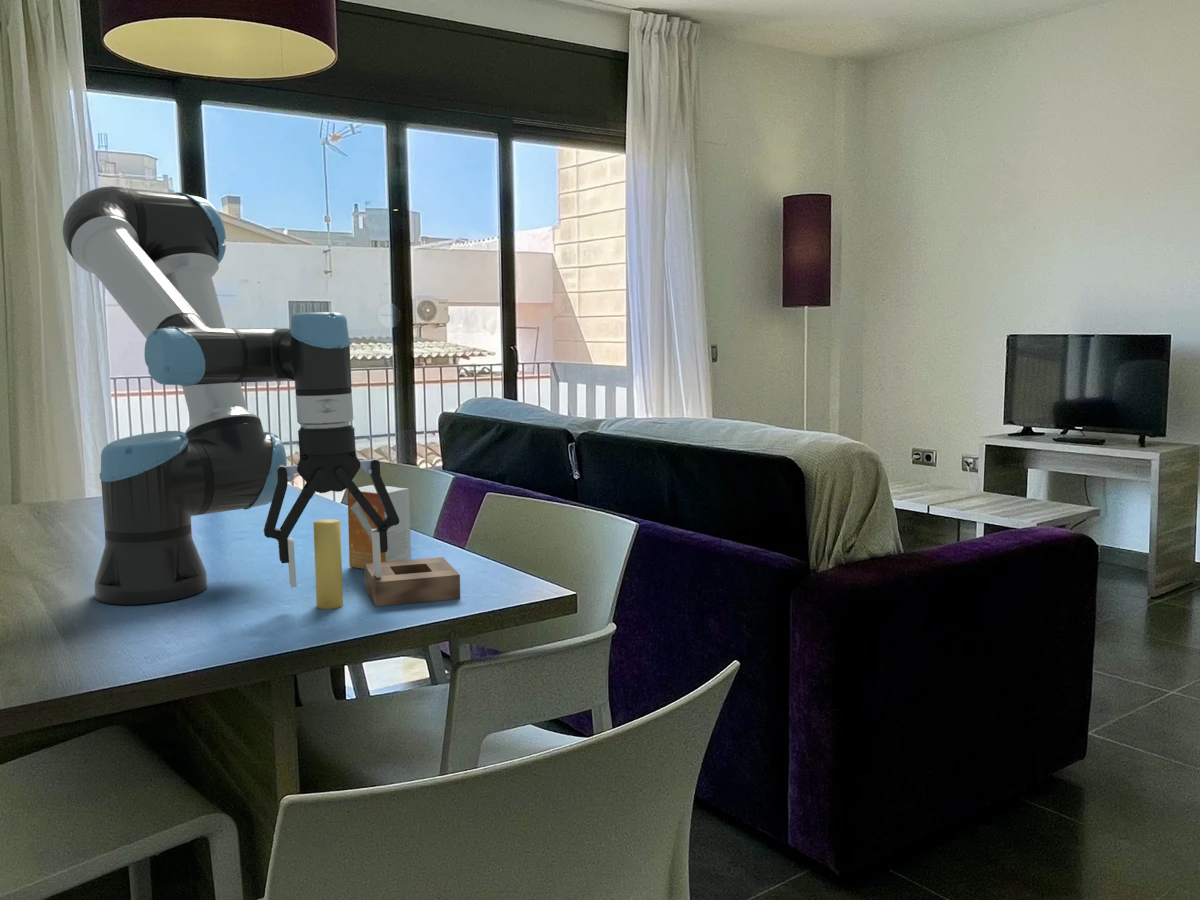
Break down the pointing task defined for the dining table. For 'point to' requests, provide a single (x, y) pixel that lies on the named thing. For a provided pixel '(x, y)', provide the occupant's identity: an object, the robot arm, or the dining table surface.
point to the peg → (328, 564)
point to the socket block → (412, 581)
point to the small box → (363, 524)
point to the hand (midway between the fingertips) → (336, 580)
